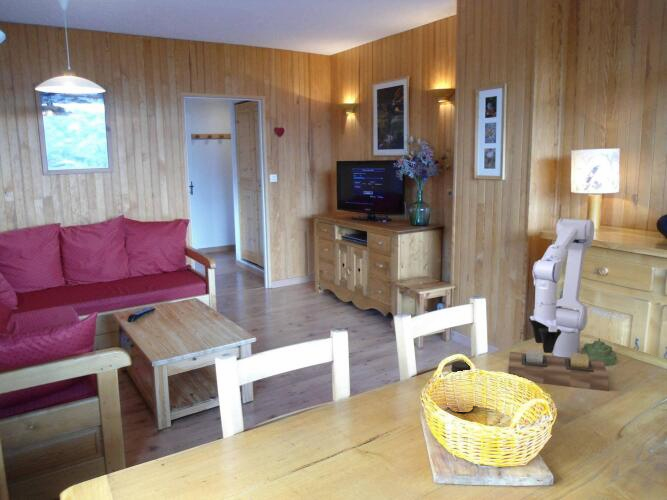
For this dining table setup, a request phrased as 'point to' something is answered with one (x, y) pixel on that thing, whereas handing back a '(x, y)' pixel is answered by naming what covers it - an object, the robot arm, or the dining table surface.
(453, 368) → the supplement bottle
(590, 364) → the walnut board
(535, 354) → the steel peg
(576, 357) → the brass peg
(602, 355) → the decorative artifact
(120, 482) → the dining table surface
